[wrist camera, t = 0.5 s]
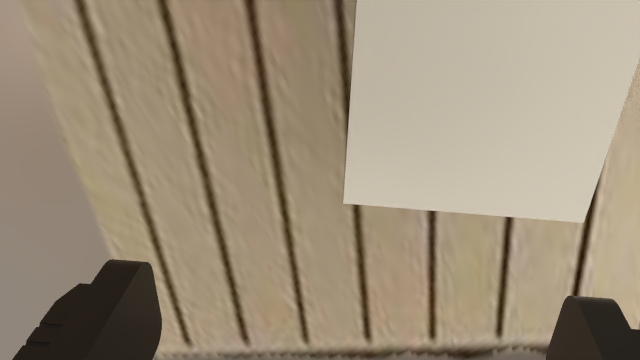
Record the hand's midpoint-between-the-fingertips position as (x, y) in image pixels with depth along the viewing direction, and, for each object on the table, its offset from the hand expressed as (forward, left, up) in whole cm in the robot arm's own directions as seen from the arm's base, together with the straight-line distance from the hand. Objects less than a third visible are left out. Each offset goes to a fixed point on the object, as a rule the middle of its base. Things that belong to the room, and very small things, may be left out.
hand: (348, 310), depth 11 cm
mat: (+3, +7, -24) cm, 25 cm away
